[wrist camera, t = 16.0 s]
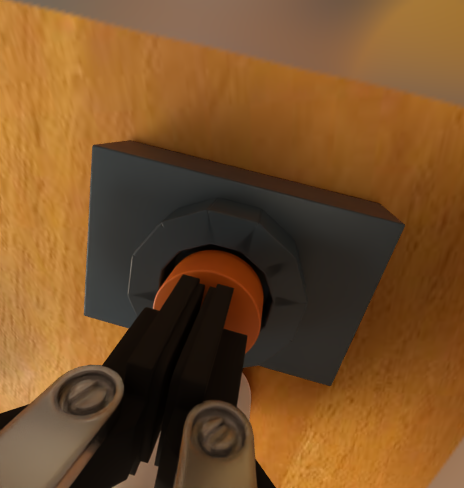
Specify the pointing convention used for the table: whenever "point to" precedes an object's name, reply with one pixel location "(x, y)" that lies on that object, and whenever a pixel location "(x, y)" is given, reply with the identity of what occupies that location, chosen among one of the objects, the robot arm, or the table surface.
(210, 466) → the robot arm
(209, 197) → the button housing
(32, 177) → the table surface
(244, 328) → the orange button cap
